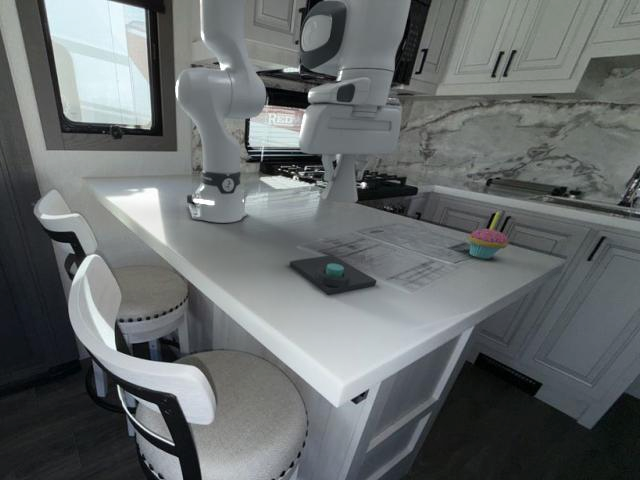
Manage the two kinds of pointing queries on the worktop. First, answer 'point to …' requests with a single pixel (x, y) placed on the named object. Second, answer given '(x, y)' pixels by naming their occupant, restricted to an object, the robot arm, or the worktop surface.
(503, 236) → the cupcake
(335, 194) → the flask
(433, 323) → the worktop surface
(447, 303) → the worktop surface
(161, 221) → the worktop surface
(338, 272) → the button
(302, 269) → the black flat block
